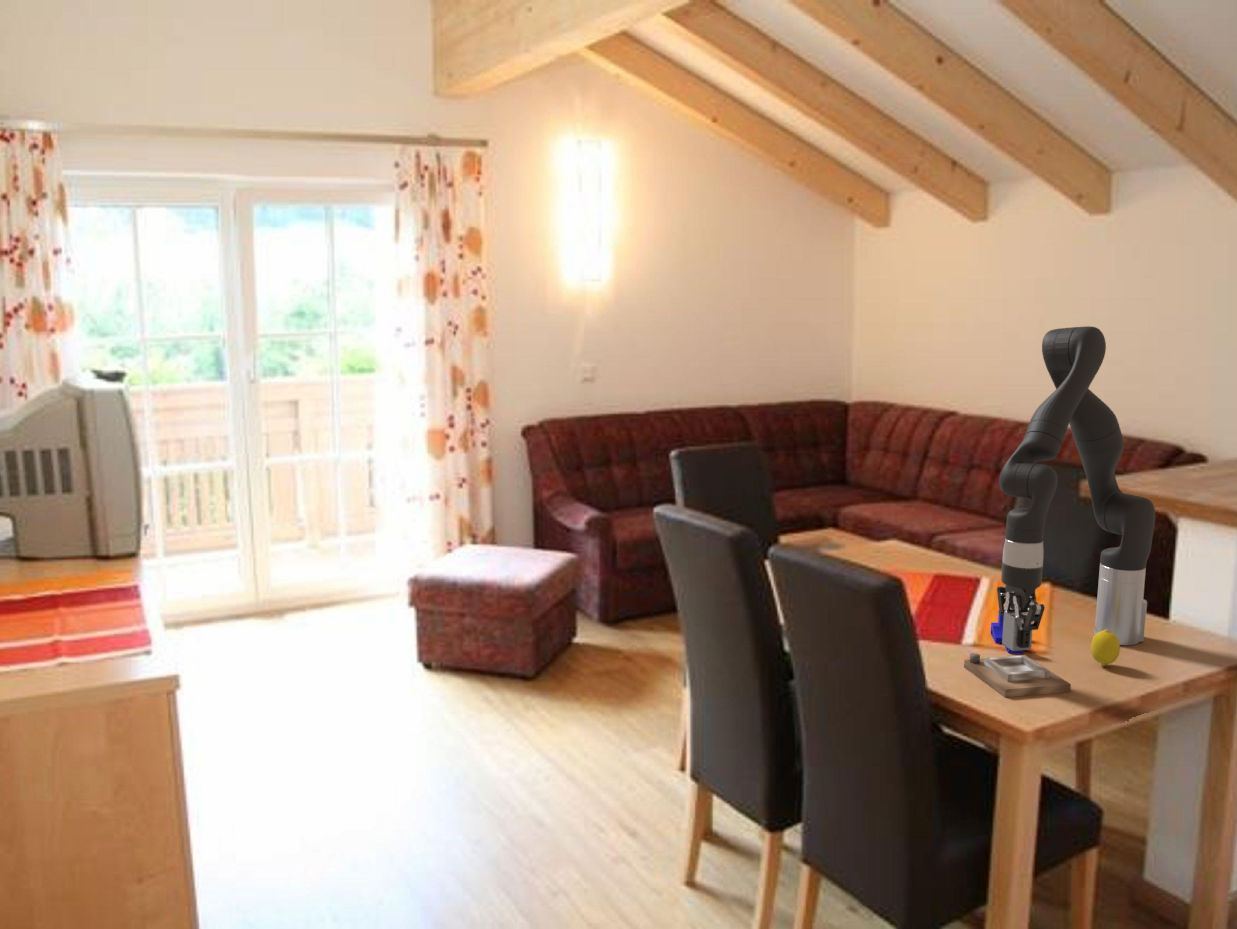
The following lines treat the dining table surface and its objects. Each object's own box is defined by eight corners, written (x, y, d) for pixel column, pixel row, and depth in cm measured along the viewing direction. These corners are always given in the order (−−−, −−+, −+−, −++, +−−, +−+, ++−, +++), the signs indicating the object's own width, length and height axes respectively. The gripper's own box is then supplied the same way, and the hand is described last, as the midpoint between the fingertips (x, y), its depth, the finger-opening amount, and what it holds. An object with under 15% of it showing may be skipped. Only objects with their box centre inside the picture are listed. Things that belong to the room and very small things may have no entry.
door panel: (1025, 662, 217) (1025, 648, 217) (1070, 691, 202) (1071, 676, 201) (963, 667, 215) (964, 653, 214) (1005, 697, 199) (1005, 682, 199)
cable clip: (990, 634, 234) (991, 609, 233) (1010, 635, 234) (1012, 610, 233) (1001, 653, 223) (1003, 627, 222) (1023, 654, 222) (1024, 628, 221)
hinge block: (1019, 642, 209) (1022, 610, 208) (1030, 649, 205) (1033, 616, 204) (1001, 644, 209) (1004, 611, 207) (1012, 650, 205) (1014, 617, 203)
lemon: (1116, 672, 211) (1119, 635, 210) (1087, 667, 214) (1090, 631, 212) (1119, 664, 216) (1122, 628, 214) (1091, 659, 219) (1094, 623, 217)
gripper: (1060, 570, 198) (1054, 654, 201) (1020, 551, 211) (1014, 630, 214) (1025, 572, 196) (1019, 657, 199) (986, 553, 210) (981, 632, 213)
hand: (1016, 642), depth 207 cm, fingers closed on hinge block, 4 cm apart
